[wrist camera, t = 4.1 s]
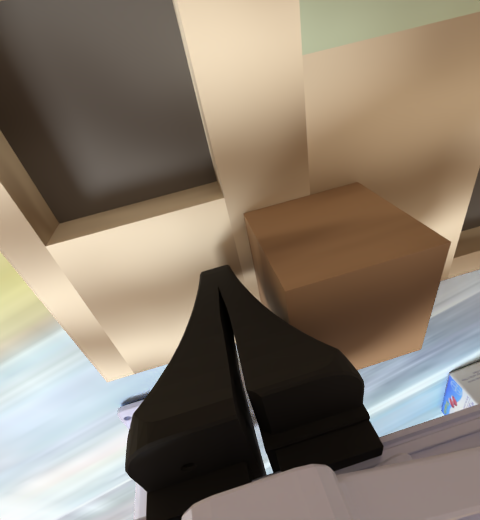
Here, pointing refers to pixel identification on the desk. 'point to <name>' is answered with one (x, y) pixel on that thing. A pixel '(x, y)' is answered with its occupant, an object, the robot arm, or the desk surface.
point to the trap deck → (217, 143)
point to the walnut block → (348, 271)
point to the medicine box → (462, 389)
